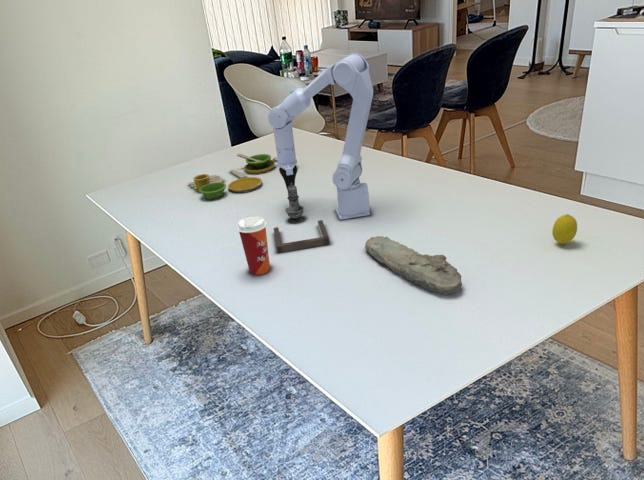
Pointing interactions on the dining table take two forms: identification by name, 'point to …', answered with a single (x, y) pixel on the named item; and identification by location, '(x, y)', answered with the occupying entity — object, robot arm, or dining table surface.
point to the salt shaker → (294, 206)
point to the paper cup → (255, 244)
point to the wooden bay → (303, 243)
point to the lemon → (564, 229)
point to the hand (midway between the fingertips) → (290, 190)
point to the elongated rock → (416, 265)
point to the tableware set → (215, 187)
